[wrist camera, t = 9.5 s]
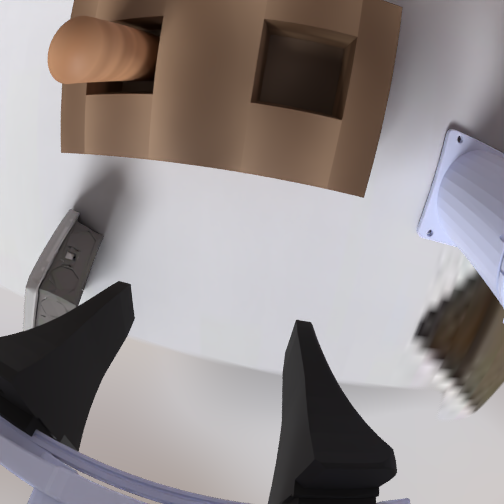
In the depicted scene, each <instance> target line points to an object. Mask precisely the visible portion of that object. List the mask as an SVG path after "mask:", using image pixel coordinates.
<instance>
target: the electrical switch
mask: <svg viewBox="0 0 504 504" xmlns="http://www.w3.org/2000/svg"><path fill="white" fill-rule="evenodd" d="M79 214H80V213H79V212H77V211H74V210H72V209H71V210H69V211H68V213H67V214H66V216H65V217H64V218H63V220H62V221H61V223H60V224H59V226H58V227H57V229H56V231H55V232H54V234H53V235H52V237H51V239H50V240H49V242H48V243H47V245H46V247H45V248H44V250H43V252H42V254H41V255H40V257H39V259H38V261H37V263H36V265H35V266H34V268H33V270H32V272H31V274H30V276H29V279H28V282H27V285H26V289H25V302H24V321H23V331H26V330H29V329H31V328H34V327H37V326H39V325H42V324H45V323H47V322H49V321H51V320H53V319H56V318H58V317H60V316H62V315H64V314H65V313H67V312H69V311H71V310H72V309H74V308H76V307H78V305H79V302H80V299H81V296H82V293H83V290H84V287H85V284H86V281H87V278H88V275H89V272H90V270H91V267H92V264H93V261H94V259H95V256H96V253H97V251H98V248H99V246H100V244H101V241H102V239H103V237H104V236H102V235H100V234H98V233H96V232H94V231H92V230H91V229H89V228H88V227H87V226H85V225H82V224H80V223H79V222H78V221H77V220H78V217H79ZM77 250H78V251H77ZM79 251H80V252H79ZM74 256H75V257H76V259H74V258H73V257H74Z"/></svg>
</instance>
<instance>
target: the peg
mask: <svg viewBox="0 0 504 504" xmlns="http://www.w3.org/2000/svg"><path fill="white" fill-rule="evenodd" d="M159 42H160V36H157V35H154V34H151V33H148V32H145V31H142V30H139V29H135V28H132V27H128V26H125V25H121V24H118V23H114V22H110V21H106V20H102V19H98V18H93V17H89V16H78V17H74V18H72V19H70V20H68V21H67V22H66V23H64V24H63V25H62V26H61V27H60V28H59V30H58V31H57V32H56V34H55V35H54V37H53V39H52V41H51V44H50V47H49V51H48V67H49V70H50V73H51V75H52V76H53V78H54V79H55V80H57V81H58V82H60V83H63V84H74V83H87V82H105V81H154V79H155V71H156V63H157V56H158V48H159Z"/></svg>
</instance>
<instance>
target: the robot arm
mask: <svg viewBox="0 0 504 504" xmlns="http://www.w3.org/2000/svg"><path fill="white" fill-rule="evenodd" d="M458 136H460V137H461V140H460V142H458V141H457V138H458ZM429 230H431V233H430V234H427V232H428V231H429ZM417 233H418V235H419V236H420V237H422V238H425V239H429V240H433V241H437V242H440V243H444V244H448V245H451V246H455V247H458V248H459V249H460V250H461V252H462V253H463V254H464V255H465V256H466V258H467V259H468V260H469V261H470V263H471V264H472V265H473V267H474V268H475V269H476V270H477V272H478V273H479V274H480V276H481V277H482V278H483V280H484V281H485V282H486V284H487V285H488V286H489V288H490V289H491V290H492V292H493V293H494V295H495V296H496V297H497V299H498V300H499V302H500V303H501V305H502V306H503V308H504V153H502V152H500V151H498V150H496V149H494V148H493V147H491V146H489V145H487V144H485V143H483V142H481V141H479V140H477V139H474V138H472V137H470V136H468V135H466V134H464V133H462V132H459V131H457V130H454V129H449V130H448V131H447V133H446V137H445V141H444V145H443V149H442V153H441V156H440V160H439V164H438V167H437V170H436V174H435V177H434V180H433V184H432V187H431V190H430V193H429V196H428V199H427V202H426V205H425V208H424V211H423V214H422V216H421V219H420V222H419V225H418V227H417ZM134 319H135V317H134V310H133V301H132V293H131V284H128V283H124V282H120V281H118V282H116V283H115V284H113V285H111V286H110V287H108V288H107V289H105V290H103V291H102V292H100V293H99V294H97V295H96V296H94V297H92V298H91V299H89V300H88V301H86V302H84V303H83V304H81V305H79V306H78V307H76V308H74V309H72V310H71V311H69V312H67V313H65V314H64V315H62V316H60V317H58V318H56V319H53V320H51V321H49V322H47V323H45V324H42V325H39V326H37V327H34V328H31V329H29V330H26V331H23V332H19V333H16V334H12V335H8V336H3V337H0V464H1V465H2V466H4V467H5V468H6V469H8V470H9V471H10V472H12V473H13V474H15V475H16V476H17V477H19V478H20V479H22V480H23V481H25V482H26V483H28V484H29V485H31V486H32V487H34V489H33V492H32V494H31V496H30V498H29V501H28V503H27V504H148V503H145V502H142V501H139V500H137V499H134V498H131V497H129V496H126V495H123V494H121V493H118V492H116V491H113V490H111V489H108V488H106V487H104V486H102V485H99V484H97V483H95V482H93V481H90V480H88V479H86V478H84V477H82V476H80V475H79V474H78V473H77V471H76V470H78V471H80V472H82V473H85V474H87V475H89V476H91V477H93V478H95V479H98V480H100V481H103V482H105V483H107V484H109V485H112V486H114V487H117V488H119V489H122V490H124V491H127V492H130V493H132V494H135V495H138V496H141V497H144V498H147V499H150V500H153V501H156V502H160V503H163V504H249V503H241V502H236V501H229V500H224V499H219V498H214V497H209V496H204V495H200V494H196V493H191V492H187V491H183V490H180V489H176V488H173V487H169V486H165V485H162V484H159V483H155V482H153V481H149V480H146V479H143V478H140V477H138V476H135V475H132V474H129V473H127V472H124V471H121V470H119V469H116V468H114V467H111V466H109V465H106V464H104V463H102V462H99V461H97V460H95V459H93V458H90V457H88V456H86V455H84V454H82V453H80V452H78V451H79V447H80V442H81V438H82V434H83V430H84V427H85V423H86V420H87V417H88V414H89V411H90V408H91V405H92V403H93V400H94V397H95V395H96V392H97V390H98V388H99V385H100V383H101V380H102V378H103V376H104V375H105V373H106V371H107V369H108V368H109V366H110V364H111V362H112V361H113V359H114V357H115V356H116V354H117V352H118V351H119V349H120V347H121V346H122V344H123V342H124V341H125V339H126V337H127V335H128V333H129V331H130V328H131V326H132V324H133V321H134ZM503 323H504V320H503ZM282 392H283V393H282V426H281V434H280V441H279V447H278V454H277V460H276V466H275V471H274V477H273V482H272V487H271V492H270V496H269V501H268V504H410V500H409V499H408V498H405V499H398V500H389V501H382V502H379V503H376V497H377V496H379V487H380V486H381V485H383V484H384V483H386V482H388V481H389V480H390V479H392V478H393V477H394V476H395V475H396V473H397V469H396V460H395V456H394V452H393V449H392V448H391V447H390V446H389V445H388V444H387V443H386V442H384V441H383V440H382V439H381V438H380V437H379V436H378V435H377V434H376V433H375V432H374V431H373V430H372V429H371V428H370V427H369V426H368V425H367V423H365V421H364V420H363V419H362V417H361V416H360V415H359V414H358V412H357V411H356V410H355V409H354V407H353V406H352V405H351V403H350V402H349V400H348V399H347V397H346V396H345V394H344V393H343V391H342V389H341V388H340V386H339V384H338V383H337V381H336V379H335V377H334V375H333V373H332V371H331V369H330V367H329V365H328V363H327V361H326V359H325V357H324V354H323V352H322V350H321V347H320V345H319V342H318V340H317V337H316V334H315V331H314V328H313V325H312V324H311V322H306V321H300V320H296V322H295V325H294V328H293V331H292V334H291V337H290V340H289V343H288V346H287V349H286V352H285V359H284V367H283V388H282ZM64 463H65V464H64ZM66 464H67V465H66ZM68 465H69V466H70V467H69V466H68ZM71 467H72V468H75V469H76V470H74V469H72V468H71Z"/></svg>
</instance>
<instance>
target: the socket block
mask: <svg viewBox="0 0 504 504" xmlns="http://www.w3.org/2000/svg"><path fill="white" fill-rule="evenodd" d="M401 15H402V7H400V6H398V5H395V4H392V3H389V2H386V1H383V0H74V4H73V8H72V13H71V19H72V18H74V17H78V16H89V17H93V18H98V19H102V20H106V21H110V22H114V23H118V24H121V25H125V26H128V27H132V28H135V29H139V30H142V31H145V32H148V33H151V34H154V35H157V36H160V42H159V48H158V56H157V63H156V71H155V79H154V81H105V82H87V83H74V84H63V83H62V100H61V153H78V154H94V155H107V156H119V157H129V158H139V159H149V160H158V161H166V162H174V163H182V164H190V165H197V166H204V167H211V168H217V169H224V170H230V171H236V172H242V173H248V174H254V175H260V176H265V177H271V178H276V179H281V180H286V181H291V182H296V183H301V184H306V185H311V186H316V187H320V188H325V189H329V190H334V191H338V192H342V193H347V194H351V195H355V196H359V197H363V198H364V195H365V191H366V188H367V184H368V180H369V177H370V173H371V169H372V165H373V162H374V158H375V154H376V150H377V146H378V141H379V137H380V133H381V129H382V124H383V120H384V115H385V111H386V106H387V101H388V96H389V91H390V86H391V81H392V75H393V69H394V64H395V58H396V51H397V45H398V38H399V31H400V23H401Z"/></svg>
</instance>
